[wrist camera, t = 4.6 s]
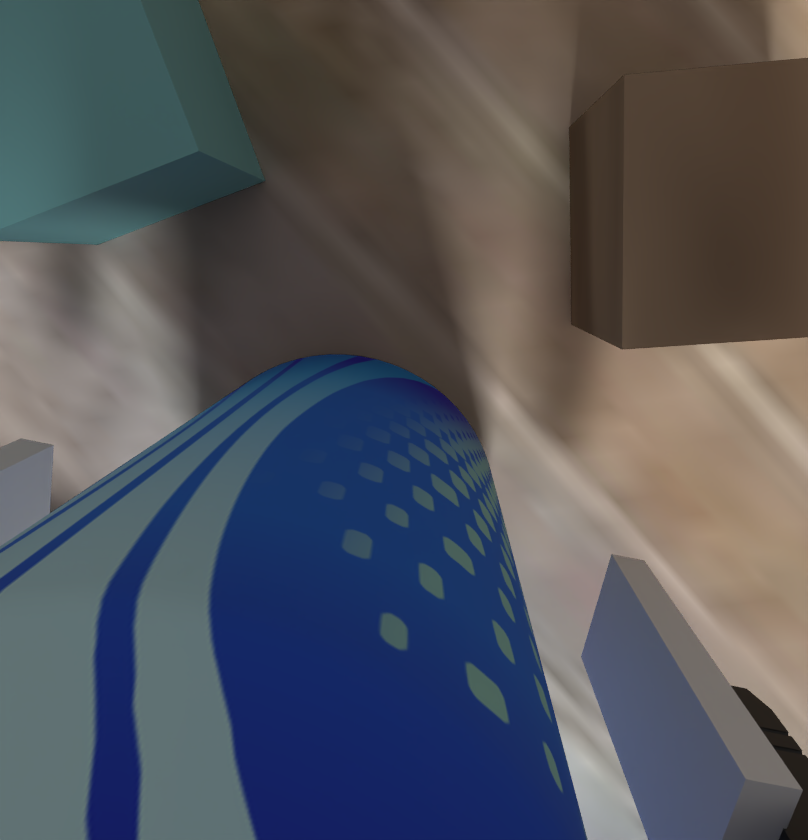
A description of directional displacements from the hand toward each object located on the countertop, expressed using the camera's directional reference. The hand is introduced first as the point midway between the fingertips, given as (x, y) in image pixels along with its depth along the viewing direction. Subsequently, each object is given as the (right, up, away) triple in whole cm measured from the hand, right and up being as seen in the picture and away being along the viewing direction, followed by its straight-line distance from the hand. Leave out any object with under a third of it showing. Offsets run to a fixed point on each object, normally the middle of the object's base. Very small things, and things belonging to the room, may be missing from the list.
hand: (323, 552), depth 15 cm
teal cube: (-5, +11, +2) cm, 12 cm away
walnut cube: (+9, +8, +2) cm, 12 cm away
